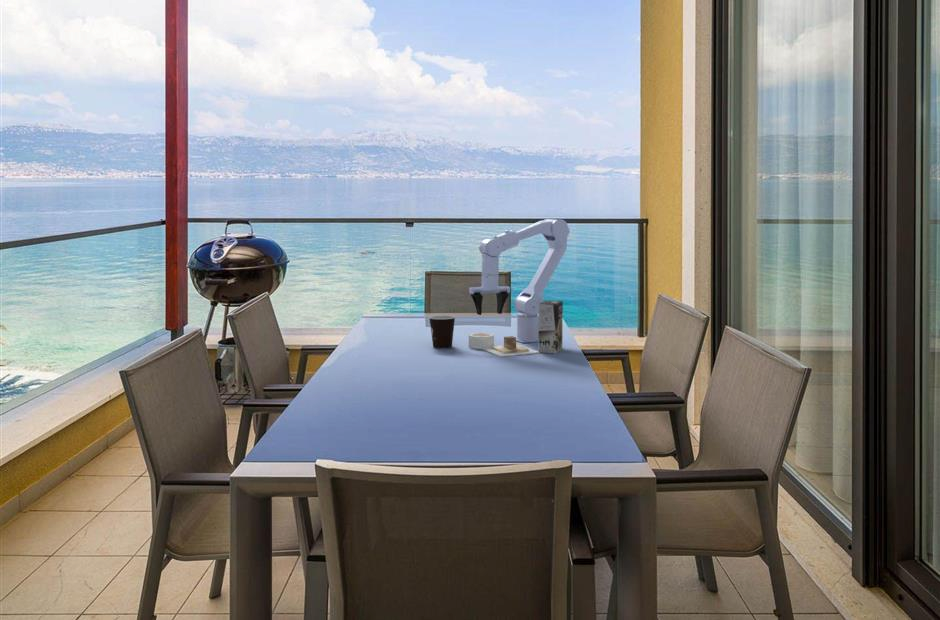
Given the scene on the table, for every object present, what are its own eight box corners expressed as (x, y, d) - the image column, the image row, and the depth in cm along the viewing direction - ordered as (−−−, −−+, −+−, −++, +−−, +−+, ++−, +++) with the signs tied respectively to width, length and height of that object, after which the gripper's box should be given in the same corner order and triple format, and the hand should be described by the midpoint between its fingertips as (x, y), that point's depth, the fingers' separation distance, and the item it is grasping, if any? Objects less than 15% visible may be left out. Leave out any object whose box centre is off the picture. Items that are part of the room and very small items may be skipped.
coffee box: (557, 353, 275) (557, 304, 272) (537, 352, 277) (537, 303, 274) (563, 348, 283) (563, 300, 281) (544, 347, 285) (544, 299, 283)
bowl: (487, 343, 293) (487, 332, 292) (497, 347, 286) (497, 335, 285) (465, 345, 290) (465, 333, 289) (475, 349, 283) (475, 337, 282)
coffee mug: (452, 349, 283) (451, 319, 282) (427, 348, 285) (426, 319, 284) (459, 342, 295) (459, 314, 293) (435, 342, 296) (434, 313, 295)
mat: (519, 346, 288) (519, 344, 288) (539, 353, 275) (539, 352, 275) (482, 349, 282) (482, 348, 282) (500, 357, 270) (500, 355, 270)
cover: (516, 346, 285) (516, 334, 284) (528, 351, 277) (528, 338, 276) (491, 348, 281) (491, 336, 281) (503, 353, 273) (503, 340, 272)
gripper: (475, 276, 282) (474, 316, 284) (514, 275, 288) (513, 314, 290) (466, 274, 289) (466, 313, 291) (505, 273, 295) (504, 311, 296)
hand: (489, 314), depth 291 cm, fingers open, 7 cm apart
